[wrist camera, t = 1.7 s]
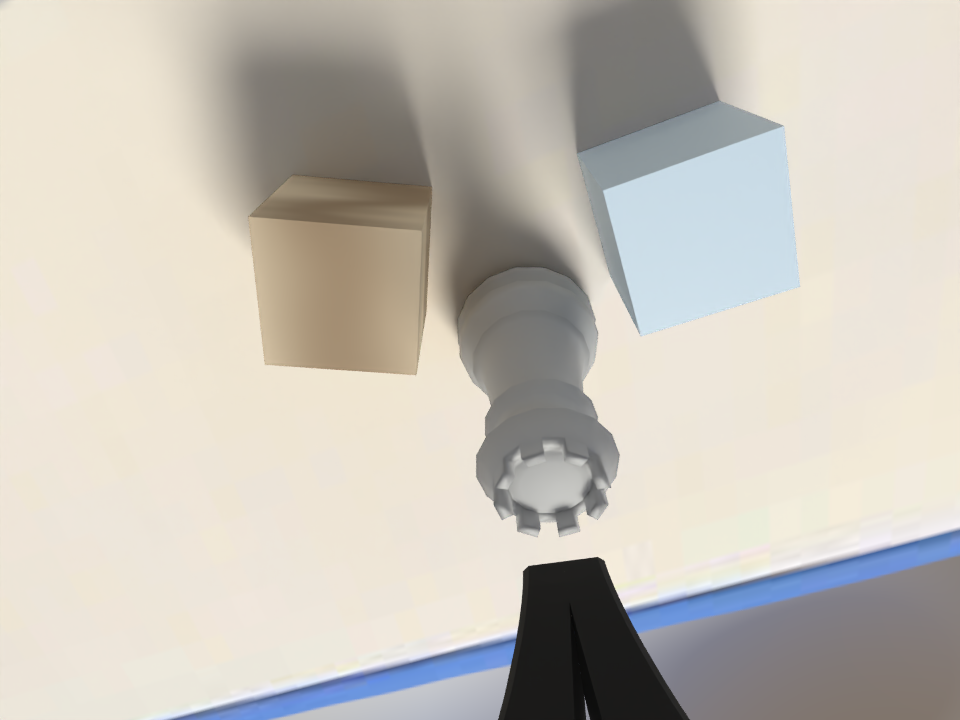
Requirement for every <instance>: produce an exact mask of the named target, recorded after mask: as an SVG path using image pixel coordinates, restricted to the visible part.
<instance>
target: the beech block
mask: <svg viewBox="0 0 960 720" xmlns="http://www.w3.org/2000/svg"><path fill="white" fill-rule="evenodd" d="M431 200H432V187H428V186H416V185H405V184H393V183H381V182H370V181H358V180H346V179H335V178H323V177H311V176H300V175H292V176H291V177H290V178H289V179H288V180H287V181H286V182H285V183H283V184H282V185H281V186H280V187H279V188H278V189H277V190H276V191H275V192H274V193H273V194H272V195H271V196H270V197H269V198H268V199H266V200H265V201H264V202H263V203H262V204H261V205H260V206H259V207H258V208H257V209H256V210H255V211H254V212H253V213H252V214H251V215H249V216H248V219H249V228H250V237H251V246H252V255H253V264H254V273H255V282H256V290H257V299H258V308H259V317H260V326H261V335H262V344H263V352H264V361H265V365H277V366H291V367H306V368H320V369H335V370H349V371H364V372H378V373H393V374H407V375H416V374H417V368H418V361H419V355H420V349H421V342H422V336H423V329H424V323H425V317H426V309H427V287H428V265H429V244H430V222H431Z"/></svg>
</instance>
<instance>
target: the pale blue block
mask: <svg viewBox="0 0 960 720" xmlns="http://www.w3.org/2000/svg"><path fill="white" fill-rule="evenodd" d="M577 155H578V159H579V163H580V166H581V170H582V174H583V177H584V181H585V185H586V188H587V192H588V195H589V199H590V203H591V206H592V210H593V214H594V217H595V221H596V225H597V228H598V232H599V236H600V239H601V243H602V247H603V250H604V254H605V258H606V261H607V265H608V269H609V272H610V276H611V278H612V280H613V282H614V284H615V286H616V288H617V290H618V292H619V294H620V296H621V298H622V300H623V302H624V304H625V306H626V308H627V310H628V312H629V314H630V316H631V318H632V320H633V322H634V324H635V326H636V328H637V330H638V332H639V334H640V336H644V335H647V334H650V333H653V332H656V331H660V330H663V329H666V328H669V327H672V326H676V325H679V324H682V323H685V322H689V321H692V320H695V319H698V318H701V317H705V316H708V315H711V314H714V313H717V312H721V311H724V310H727V309H730V308H733V307H737V306H740V305H743V304H746V303H749V302H753V301H756V300H759V299H762V298H765V297H769V296H772V295H775V294H778V293H781V292H785V291H788V290H791V289H794V288H797V287H800V282H799V272H798V262H797V252H796V242H795V232H794V222H793V211H792V201H791V191H790V181H789V171H788V161H787V151H786V141H785V131H784V126H783V125H780V124H778V123H775V122H773V121H770V120H768V119H765V118H762V117H760V116H757V115H755V114H752V113H750V112H747V111H745V110H742V109H739V108H737V107H734V106H732V105H729V104H727V103H724V102H721V101H717V102H715V103H712V104H709V105H707V106H704V107H701V108H698V109H696V110H693V111H690V112H688V113H685V114H682V115H680V116H677V117H674V118H671V119H669V120H666V121H663V122H661V123H658V124H655V125H653V126H650V127H647V128H644V129H642V130H639V131H636V132H634V133H631V134H628V135H626V136H623V137H620V138H617V139H615V140H612V141H609V142H607V143H604V144H601V145H598V146H596V147H593V148H590V149H588V150H585V151H582V152H580V153H577Z"/></svg>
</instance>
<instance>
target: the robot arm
mask: <svg viewBox="0 0 960 720" xmlns="http://www.w3.org/2000/svg"><path fill="white" fill-rule="evenodd" d="M571 615H572V616H571ZM584 696H585V699H584ZM585 700H586V704H587V709H588V713H589V717H590V720H690V719H689V718H688V716H687V715H686V713H685V712H684V710H683V709H682V708H681V706H680V704H679V703H678V701H677V700H676V698H675V696H674V695H673V693H672V692H671V690H670V689H669V687H668V685H667V684H666V682H665V680H664V679H663V677H662V675H661V674H660V672H659V670H658V669H657V667H656V665H655V664H654V662H653V660H652V659H651V657H650V655H649V654H648V652H647V650H646V648H645V647H644V645H643V643H642V641H641V639H640V638H639V636H638V634H637V632H636V630H635V628H634V627H633V625H632V623H631V621H630V619H629V617H628V615H627V613H626V611H625V609H624V607H623V605H622V603H621V601H620V599H619V597H618V594H617V592H616V590H615V588H614V585H613V583H612V580H611V578H610V575H609V573H608V570H607V567H606V564H605V561H604V560H602V559H600V558H598V557H594V558H587V559H579V560H571V561H564V562H556V563H548V564H540V565H533V566H528V567H527V568H526V569H525V570H524V571H523V593H522V604H521V612H520V620H519V626H518V632H517V638H516V644H515V649H514V654H513V659H512V663H511V668H510V673H509V678H508V683H507V687H506V692H505V696H504V700H503V704H502V707H501V711H500V715H499V719H498V720H586V713H585Z"/></svg>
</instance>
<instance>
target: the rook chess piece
mask: <svg viewBox="0 0 960 720" xmlns="http://www.w3.org/2000/svg"><path fill="white" fill-rule="evenodd" d="M595 321H596V319H595V316H594V313H593V310H592V307H591V305H590V302H589V299H588V296H587V295H586V294H585V293H584V292H583V291H582V290H581V289H580V288H579V287H578V286H577V285H576V284H575V283H574V282H573V281H572V280H571V279H570V278H569V277H566V276H564V275H561V274H559V273H556V272H554V271H551V270H549V269H546V268H544V267H515V268H512V269H509V270H507V271H504V272H502V273H499V274H496V275H494V276H491V277H488V278H487V279H486V280H485V281H484V282H483V283H482V284H481V285H480V286H479V287H477V288H476V289H475V290H474V291H473V292H472V293H471V294H470V295H469V296H468V298H467V300H466V302H465V304H464V306H463V309H462V311H461V313H460V315H459V318H458V344H459V346H460V358H461V360H462V362H463V364H464V366H465V368H466V370H467V372H468V374H469V376H470V378H471V380H472V382H473V383H474V384H475V385H476V386H478V387H479V388H480V389H481V390H482V391H483V392H484V393H485V394H487V395H488V397H489V400H490V404H491V407H490V409H489V411H488V413H487V415H486V417H485V436H486V438H485V440H484V442H483V444H482V446H481V448H480V449H479V451H478V453H477V455H476V477H477V479H478V481H479V483H480V485H481V486H482V488H483V490H484V492H485V494H486V496H487V497H489V498H490V499H491V500H493V501H494V506H495V508H496V510H497V512H498V514H499V515H500V517H501V519H502V520H503V519H505V518H507V517H510V516H512V515H515V516H516V521H517V531H518V532H521V533H524V534H528V535H531V536H534V537H538V534H539V531H540V522H557V527H558V533H559V537H562V536H566V535H569V534H573V533H576V532H580V527H579V522H578V517H577V516H578V515H580V514H581V513H583V512H584V511H587V515H589V516H591V517H593V518H595V519H597V520H598V519H599V517H600V516H601V514H602V513H603V512H604V510H605V509H606V507H607V506H608V501H607V497H606V493H605V492H606V491H607V489H608V488H611V484H612V482H613V481H614V479H615V478H616V475H617V469H618V462H619V456H620V455H619V452H618V449H617V447H616V444H615V441H614V439H613V436H612V434H611V433H610V432H609V431H608V430H607V429H606V428H604V427H603V426H602V425H601V424H600V423H599V422H598V421H597V420H598V416H597V414H596V411H595V408H594V406H593V403H592V401H591V399H590V398H589V397H587V396H586V395H585V394H584V393H583V380H584V379H585V377H586V375H587V374H588V372H589V370H590V369H591V367H592V365H593V364H594V361H595V356H596V348H597V339H598V330H597V327H596V325H595Z"/></svg>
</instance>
